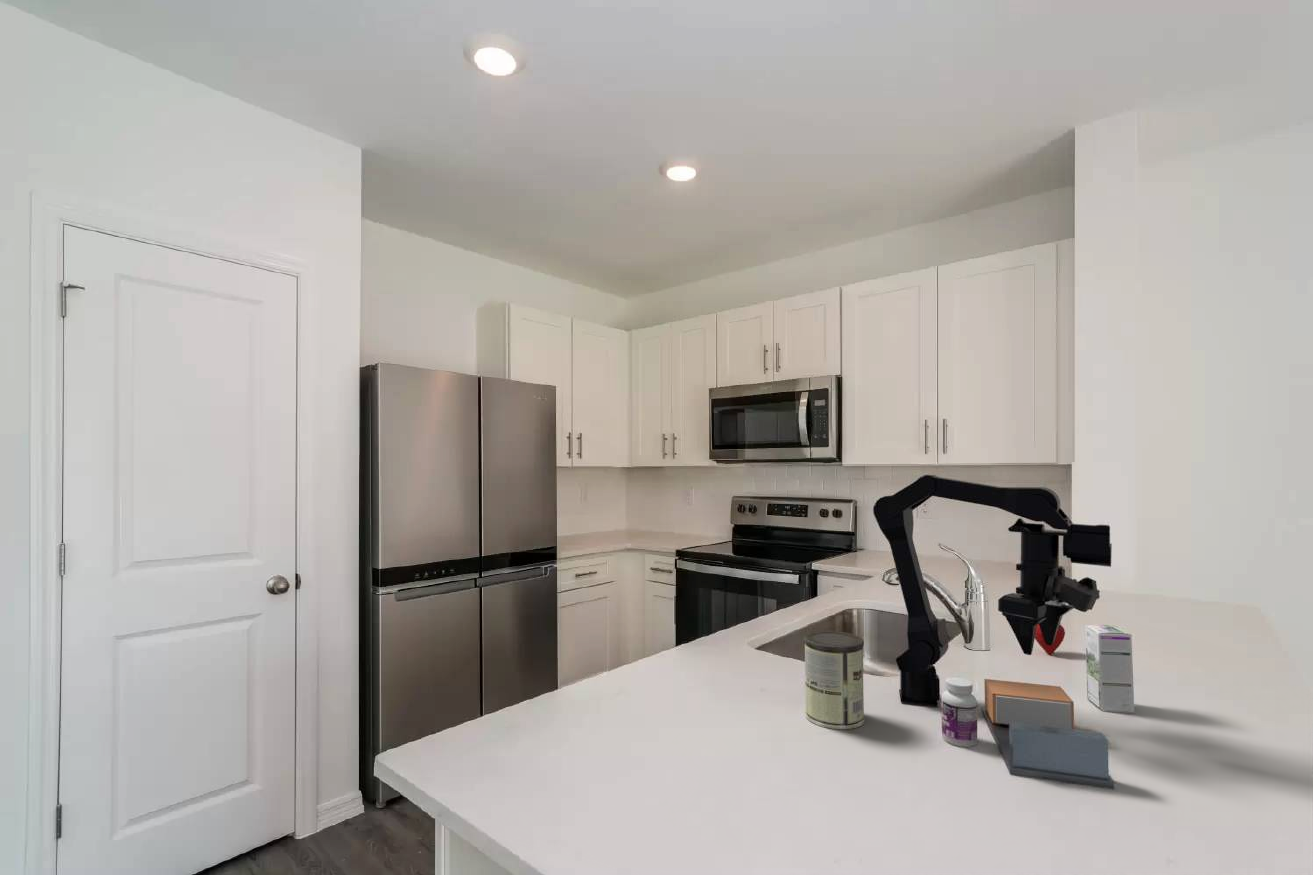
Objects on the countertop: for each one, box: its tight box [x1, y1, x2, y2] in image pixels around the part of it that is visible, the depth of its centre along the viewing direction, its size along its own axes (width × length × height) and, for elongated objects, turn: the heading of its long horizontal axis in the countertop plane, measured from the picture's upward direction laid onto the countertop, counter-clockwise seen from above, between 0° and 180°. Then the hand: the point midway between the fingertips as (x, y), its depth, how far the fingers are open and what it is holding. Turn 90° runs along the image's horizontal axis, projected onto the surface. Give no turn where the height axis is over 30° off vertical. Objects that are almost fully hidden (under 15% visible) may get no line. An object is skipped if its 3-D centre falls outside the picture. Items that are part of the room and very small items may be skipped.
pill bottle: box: [940, 677, 978, 748], centre depth 105 cm, size 5×5×10 cm
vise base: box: [980, 706, 1115, 790], centre depth 103 cm, size 24×13×6 cm, turn 162°
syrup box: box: [1085, 624, 1135, 714], centre depth 120 cm, size 6×6×14 cm
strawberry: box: [1034, 622, 1066, 656], centre depth 152 cm, size 6×8×10 cm
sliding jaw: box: [984, 678, 1075, 730], centre depth 110 cm, size 8×12×5 cm, turn 72°
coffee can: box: [803, 630, 865, 730], centre depth 114 cm, size 10×10×14 cm
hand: (1038, 649), depth 111 cm, fingers open, 9 cm apart
